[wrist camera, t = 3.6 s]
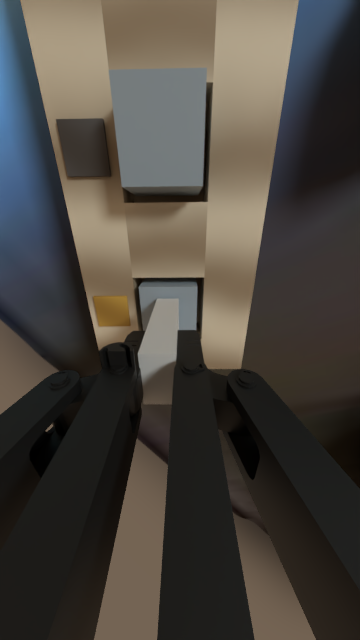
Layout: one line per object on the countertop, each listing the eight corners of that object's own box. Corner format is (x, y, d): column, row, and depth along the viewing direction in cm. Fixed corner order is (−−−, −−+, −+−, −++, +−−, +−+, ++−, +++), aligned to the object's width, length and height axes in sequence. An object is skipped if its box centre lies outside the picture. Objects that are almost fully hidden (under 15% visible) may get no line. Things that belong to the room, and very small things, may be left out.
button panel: (5, -295, 8) (-160, -780, 4) (309, -309, 8) (432, -830, 4) (116, 344, 21) (102, 370, 17) (230, 343, 21) (241, 370, 17)
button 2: (146, 275, 16) (138, 287, 13) (194, 275, 16) (197, 286, 13) (150, 318, 18) (143, 337, 15) (193, 318, 18) (196, 337, 15)
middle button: (129, 112, 11) (108, 69, 8) (200, 111, 11) (206, 67, 8) (136, 196, 13) (121, 186, 10) (197, 195, 13) (202, 185, 10)
